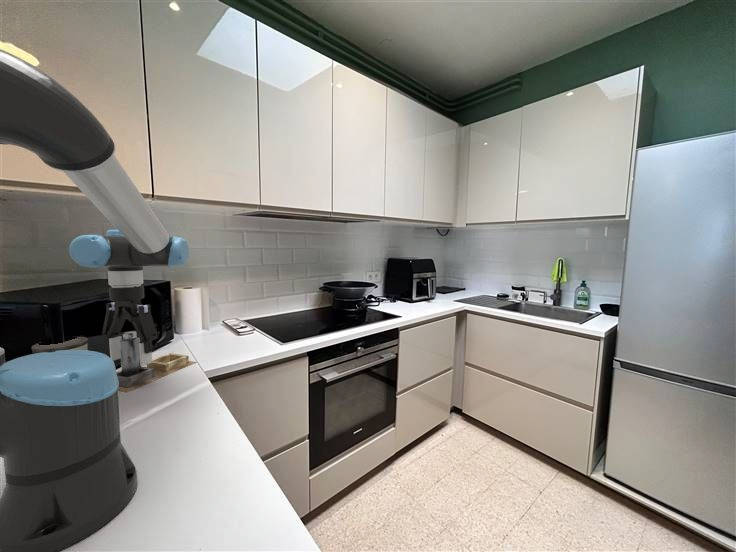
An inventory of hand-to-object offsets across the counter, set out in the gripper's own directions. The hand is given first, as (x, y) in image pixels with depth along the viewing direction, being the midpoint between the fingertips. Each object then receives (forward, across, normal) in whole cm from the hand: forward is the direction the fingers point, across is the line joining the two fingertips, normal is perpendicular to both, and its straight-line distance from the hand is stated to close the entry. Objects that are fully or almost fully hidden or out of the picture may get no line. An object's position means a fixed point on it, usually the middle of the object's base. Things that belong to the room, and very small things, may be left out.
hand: (131, 361), depth 82 cm
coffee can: (+7, +13, +8) cm, 17 cm away
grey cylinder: (+6, 0, 0) cm, 6 cm away
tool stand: (+7, 0, -6) cm, 9 cm away
